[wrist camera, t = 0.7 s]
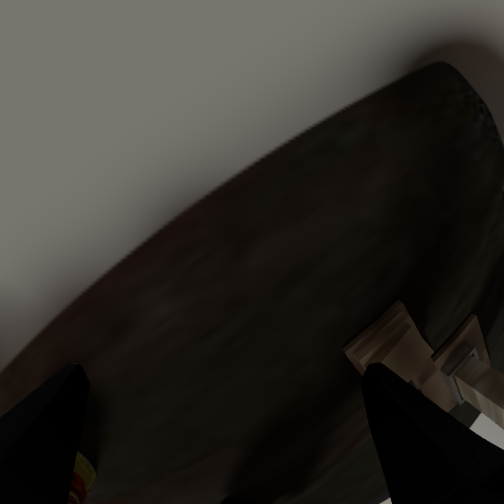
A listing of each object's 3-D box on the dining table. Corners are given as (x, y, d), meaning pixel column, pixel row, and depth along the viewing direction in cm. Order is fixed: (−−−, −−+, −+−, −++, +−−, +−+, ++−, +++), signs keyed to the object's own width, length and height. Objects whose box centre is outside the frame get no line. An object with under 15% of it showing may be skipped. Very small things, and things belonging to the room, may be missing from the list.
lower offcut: (375, 385, 24) (382, 392, 23) (352, 354, 24) (359, 360, 22) (420, 345, 24) (428, 350, 23) (401, 311, 24) (409, 315, 22)
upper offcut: (389, 387, 23) (396, 395, 21) (363, 366, 22) (370, 373, 21) (425, 346, 23) (434, 351, 21) (403, 320, 22) (411, 325, 21)
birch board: (455, 391, 26) (509, 434, 15) (445, 369, 25) (507, 413, 14) (471, 374, 26) (527, 411, 15) (463, 350, 25) (527, 388, 14)
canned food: (62, 475, 25) (31, 526, 13) (37, 436, 24) (-4, 486, 12) (105, 484, 25) (79, 545, 13) (80, 445, 24) (42, 508, 12)
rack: (409, 440, 27) (418, 451, 24) (341, 349, 25) (352, 360, 22) (487, 363, 27) (498, 370, 24) (446, 250, 25) (462, 253, 22)
